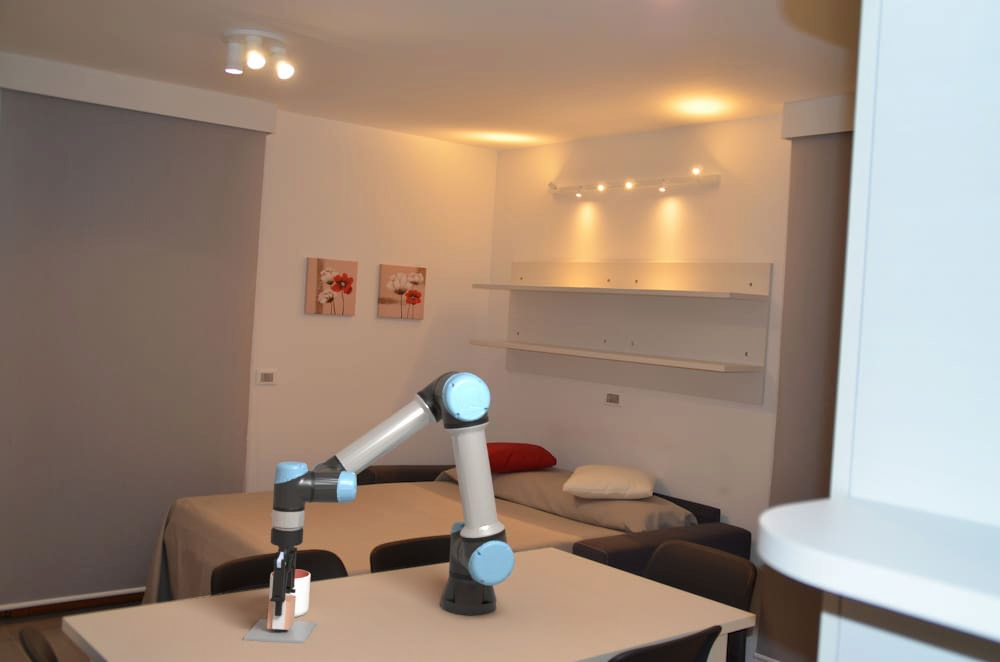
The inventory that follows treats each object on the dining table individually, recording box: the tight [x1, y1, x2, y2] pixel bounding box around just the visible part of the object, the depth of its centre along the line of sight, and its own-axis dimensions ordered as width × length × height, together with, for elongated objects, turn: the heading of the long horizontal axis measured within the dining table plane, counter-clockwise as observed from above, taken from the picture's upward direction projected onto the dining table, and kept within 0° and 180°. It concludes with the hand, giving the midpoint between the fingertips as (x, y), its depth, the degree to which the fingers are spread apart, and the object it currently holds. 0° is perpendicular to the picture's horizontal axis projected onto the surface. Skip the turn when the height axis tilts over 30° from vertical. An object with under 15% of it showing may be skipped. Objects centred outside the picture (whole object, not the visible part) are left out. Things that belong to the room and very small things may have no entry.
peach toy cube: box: [267, 595, 296, 630], centre depth 207 cm, size 5×5×7 cm
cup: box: [268, 568, 311, 618], centre depth 222 cm, size 10×10×10 cm
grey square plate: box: [243, 618, 318, 644], centre depth 207 cm, size 14×14×7 cm
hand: (281, 624), depth 207 cm, fingers closed on peach toy cube, 5 cm apart
